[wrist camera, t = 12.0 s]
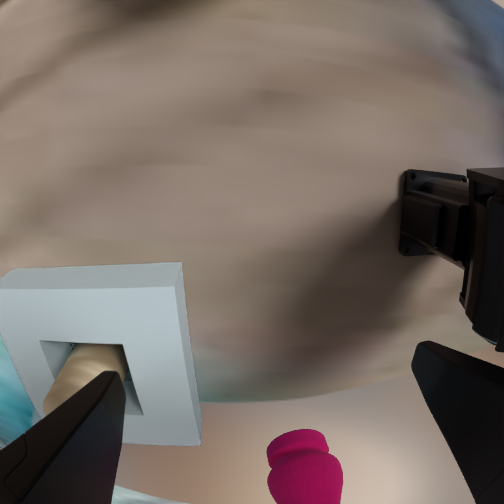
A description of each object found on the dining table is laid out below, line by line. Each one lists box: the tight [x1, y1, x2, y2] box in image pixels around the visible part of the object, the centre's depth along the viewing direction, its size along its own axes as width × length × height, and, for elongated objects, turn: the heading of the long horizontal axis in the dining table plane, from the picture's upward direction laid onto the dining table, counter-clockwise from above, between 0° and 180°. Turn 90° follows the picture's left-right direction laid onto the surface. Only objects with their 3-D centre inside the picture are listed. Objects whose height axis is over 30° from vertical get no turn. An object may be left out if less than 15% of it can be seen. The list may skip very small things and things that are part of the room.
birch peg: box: [43, 343, 129, 415], centre depth 18 cm, size 4×4×8 cm
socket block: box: [0, 262, 201, 446], centre depth 20 cm, size 14×14×4 cm
